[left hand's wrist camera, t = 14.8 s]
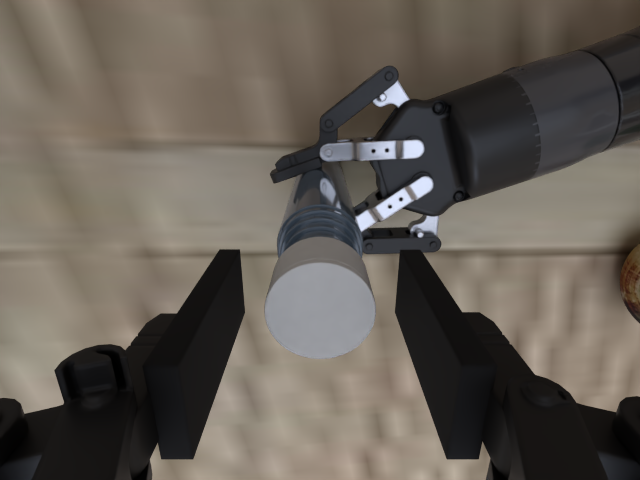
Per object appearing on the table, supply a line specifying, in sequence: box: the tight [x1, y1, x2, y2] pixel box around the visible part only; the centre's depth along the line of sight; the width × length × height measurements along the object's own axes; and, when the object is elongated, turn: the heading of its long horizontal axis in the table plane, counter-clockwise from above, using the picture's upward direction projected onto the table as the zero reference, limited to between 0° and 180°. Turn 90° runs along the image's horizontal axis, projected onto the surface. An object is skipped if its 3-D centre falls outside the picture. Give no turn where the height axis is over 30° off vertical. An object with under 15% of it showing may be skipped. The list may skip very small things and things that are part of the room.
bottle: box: [277, 161, 363, 259], centre depth 23 cm, size 4×4×23 cm
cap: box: [265, 237, 376, 359], centre depth 13 cm, size 4×4×2 cm
